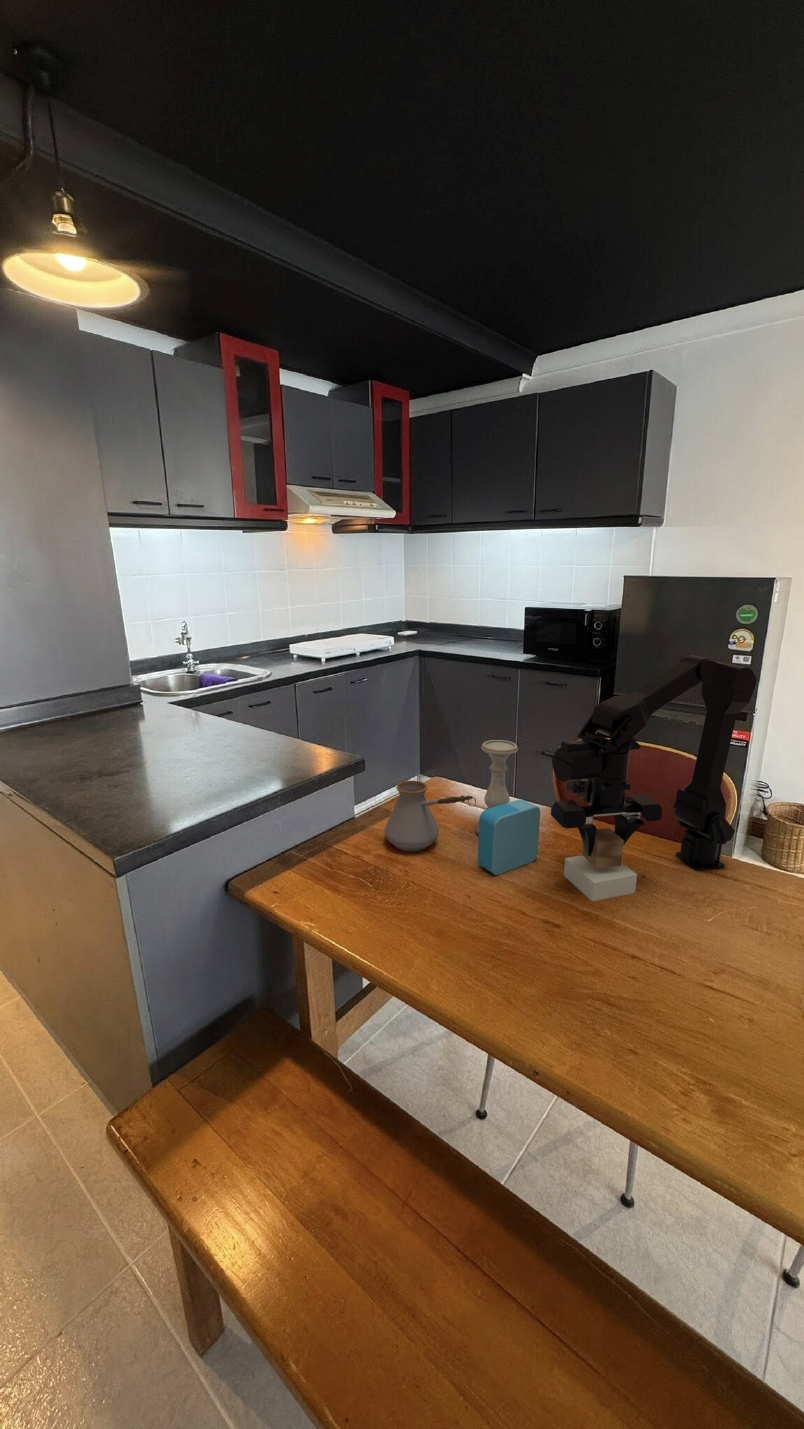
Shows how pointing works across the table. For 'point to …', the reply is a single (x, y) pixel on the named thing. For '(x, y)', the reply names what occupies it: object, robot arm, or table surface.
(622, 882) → the base block
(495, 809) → the blue rounded slab
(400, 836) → the coffee pot
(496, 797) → the candle holder
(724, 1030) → the table surface
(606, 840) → the walnut cube
